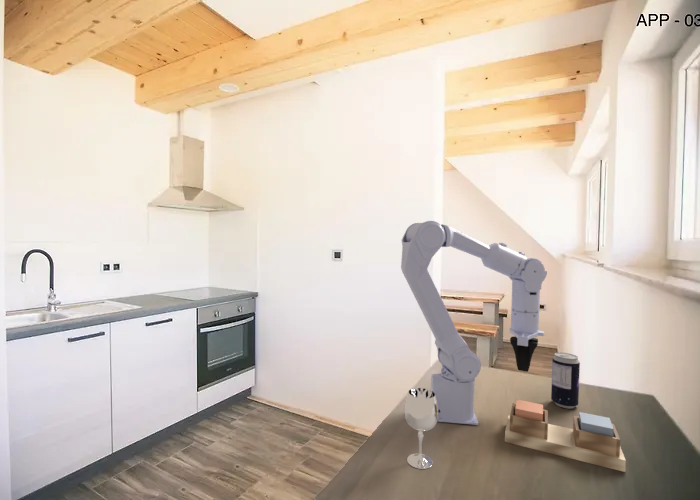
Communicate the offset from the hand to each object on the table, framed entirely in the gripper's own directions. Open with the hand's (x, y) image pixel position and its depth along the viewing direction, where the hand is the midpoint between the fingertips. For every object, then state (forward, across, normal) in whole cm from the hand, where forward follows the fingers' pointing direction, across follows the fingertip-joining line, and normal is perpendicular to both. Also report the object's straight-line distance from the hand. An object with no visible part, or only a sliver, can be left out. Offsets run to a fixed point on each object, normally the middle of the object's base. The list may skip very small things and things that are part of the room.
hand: (523, 370), depth 84 cm
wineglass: (+10, -30, +15) cm, 35 cm away
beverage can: (+10, +11, -9) cm, 17 cm away
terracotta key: (+7, -11, -2) cm, 13 cm away
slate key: (+7, -11, -13) cm, 18 cm away
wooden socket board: (+10, -11, -7) cm, 17 cm away
